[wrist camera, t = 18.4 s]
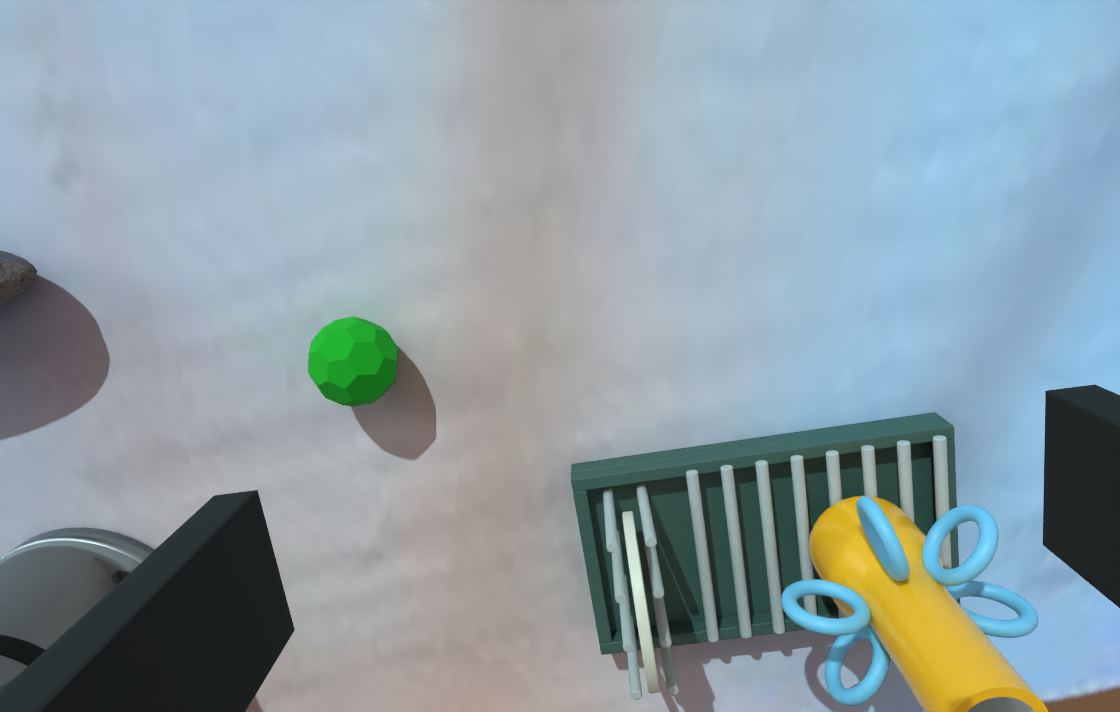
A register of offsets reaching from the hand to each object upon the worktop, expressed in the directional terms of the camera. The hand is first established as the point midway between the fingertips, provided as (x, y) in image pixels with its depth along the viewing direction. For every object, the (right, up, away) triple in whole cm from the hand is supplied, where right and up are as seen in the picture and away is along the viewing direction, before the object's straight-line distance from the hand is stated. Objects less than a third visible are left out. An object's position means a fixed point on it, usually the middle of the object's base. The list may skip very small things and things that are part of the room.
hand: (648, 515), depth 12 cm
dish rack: (+11, -8, +34) cm, 37 cm away
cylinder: (+16, -8, +31) cm, 36 cm away
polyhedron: (-13, +3, +32) cm, 35 cm away
